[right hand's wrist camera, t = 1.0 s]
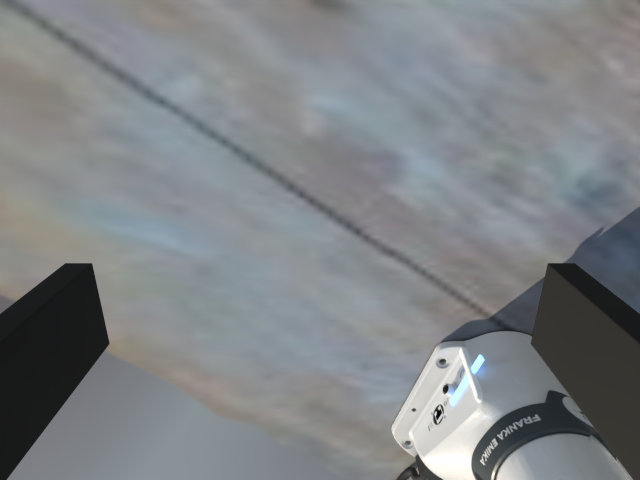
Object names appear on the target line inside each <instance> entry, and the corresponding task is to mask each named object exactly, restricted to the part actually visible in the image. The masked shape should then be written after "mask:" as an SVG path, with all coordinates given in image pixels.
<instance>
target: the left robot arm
mask: <svg viewBox="0 0 640 480" xmlns="http://www.w3.org/2000/svg"><path fill="white" fill-rule="evenodd" d="M531 339H532V336H530V335H527V334H524V333H520V332H514V331H499V332H492V333H487V334H484V335H481V336H478V337H475V338H473V339H470V340H466V341H448V342H443V343H441V344H439V345H438V346H437V347H436V348H435V350H434V352H433V354H432V356H431V357H430V359H429V361H428V363H427V364H426V366H425V368H424V370H423V372H422V373H421V375H420V377H419V379H418V380H417V382H416V384H415V386H414V388H413V389H412V391H411V393H410V395H409V397H408V398H407V400H406V402H405V404H404V405H403V407H402V409H401V411H400V413H399V414H398V416H397V418H396V420H395V422H394V423H393V426H392V432H393V435H394V437H395V439H396V441H397V442H398V443H399V444H400V446H401V447H402V448H403V449H404V450H406V451H407V452H408V453H410V454H411V455H412V456H414V457H415V458H416V462H417V466H418V470H419V475H418V473H417V471H416V469H415V468H408V469H406V470H405V471H403V472H402V473H401V475H400V476H399V477H398V479H397V480H406V479H407V478H408V477H409V476H411V477H412V479H413V480H631V479H630V478H629V477H628V475H627V474H626V473H625V472H624V470H623V469H622V468H621V466H620V465H619V464H618V463H617V461H616V456H615V455H614V453H613V452H612V451H611V449H610V448H609V447H608V445H607V444H606V443H605V441H604V440H603V439H602V437H601V436H600V435H599V433H598V432H597V431H596V429H595V428H594V427H593V426H592V424H591V423H590V422H589V420H588V419H587V418H586V416H585V415H584V414H583V412H582V411H581V410H580V408H579V407H578V406H577V404H576V403H575V402H574V400H573V399H572V398H571V396H570V395H569V394H568V393H567V391H566V390H565V389H564V387H563V386H562V385H561V383H560V382H559V381H558V379H557V378H556V377H555V375H554V374H553V373H552V371H551V370H550V369H549V367H548V366H547V365H546V363H545V362H544V361H543V359H542V358H541V357H540V356H539V354H538V353H537V352H536V350H535V349H534V348H533V346H532V345H531ZM441 359H444V360H443V361H440V360H441Z"/></svg>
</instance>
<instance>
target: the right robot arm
mask: <svg viewBox="0 0 640 480" xmlns="http://www.w3.org/2000/svg"><path fill="white" fill-rule="evenodd" d="M108 345H109V339H108V335H107V330H106V326H105V321H104V316H103V312H102V307H101V303H100V298H99V293H98V289H97V284H96V280H95V275H94V270H93V266H92V263H65V264H64V265H63V266H61V267H60V268H59V269H58V270H56V271H55V272H54V273H52V274H51V275H50V276H49V277H47V278H46V279H45V280H43V281H42V282H41V283H40V284H38V285H37V286H36V287H34V288H33V289H32V290H31V291H29V292H28V293H27V294H25V295H24V296H23V297H22V298H20V299H19V300H18V301H16V302H15V303H14V304H13V305H11V306H10V307H9V308H7V309H6V310H5V311H4V312H2V313H1V314H0V480H7V478H8V477H9V476H10V474H11V473H12V472H13V470H14V469H15V468H16V466H17V465H18V464H19V462H20V461H21V460H22V458H23V457H24V456H25V455H26V453H27V452H28V451H29V449H30V448H31V447H32V445H33V444H34V443H35V441H36V440H37V439H38V437H39V436H40V435H41V433H42V432H43V431H44V429H45V428H46V427H47V426H48V424H49V423H50V422H51V420H52V419H53V417H54V416H55V415H56V414H57V412H58V411H59V410H60V408H61V407H62V406H63V404H64V403H65V402H66V400H67V399H68V398H69V396H70V395H71V394H72V392H73V391H74V390H75V389H76V387H77V386H78V385H79V383H80V382H81V381H82V379H83V378H84V377H85V375H86V374H87V373H88V371H89V370H90V369H91V367H92V366H93V365H94V363H95V362H96V361H97V359H98V358H99V357H100V355H101V354H102V353H103V352H104V350H105V349H106V348H107V346H108ZM531 345H532V346H533V348H534V349H535V350H536V352H537V353H538V354H539V356H540V357H541V358H542V359H543V361H544V362H545V363H546V365H547V366H548V367H549V369H550V370H551V371H552V373H553V374H554V375H555V377H556V378H557V379H558V381H559V382H560V383H561V385H562V386H563V387H564V389H565V390H566V391H567V393H568V394H569V395H570V396H571V398H572V399H573V400H574V402H575V403H576V404H577V406H578V407H579V408H580V410H581V411H582V412H583V414H584V415H585V416H586V418H587V419H588V420H589V422H590V423H591V424H592V426H593V427H594V428H595V429H596V431H597V432H598V433H599V435H600V436H601V437H602V439H603V440H604V441H605V443H606V444H607V445H608V447H609V448H610V449H611V451H612V452H613V453H614V455H615V456H616V457H617V459H618V460H619V461H620V462H621V464H622V465H623V466H624V468H625V469H626V470H627V472H628V473H629V474H630V476H631V477H632V478H633V480H640V314H639V313H638V312H636V311H635V310H634V309H633V308H631V307H630V306H629V305H627V304H626V303H625V302H624V301H622V300H621V299H620V298H618V297H617V296H616V295H615V294H613V293H612V292H611V291H609V290H608V289H607V288H606V287H604V286H603V285H602V284H600V283H599V282H598V281H597V280H595V279H594V278H593V277H591V276H590V275H589V274H588V273H586V272H585V271H584V270H582V269H581V268H580V267H579V266H577V265H576V264H575V263H548V266H547V270H546V275H545V280H544V284H543V289H542V293H541V298H540V303H539V307H538V312H537V316H536V321H535V326H534V330H533V335H532V339H531Z"/></svg>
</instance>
